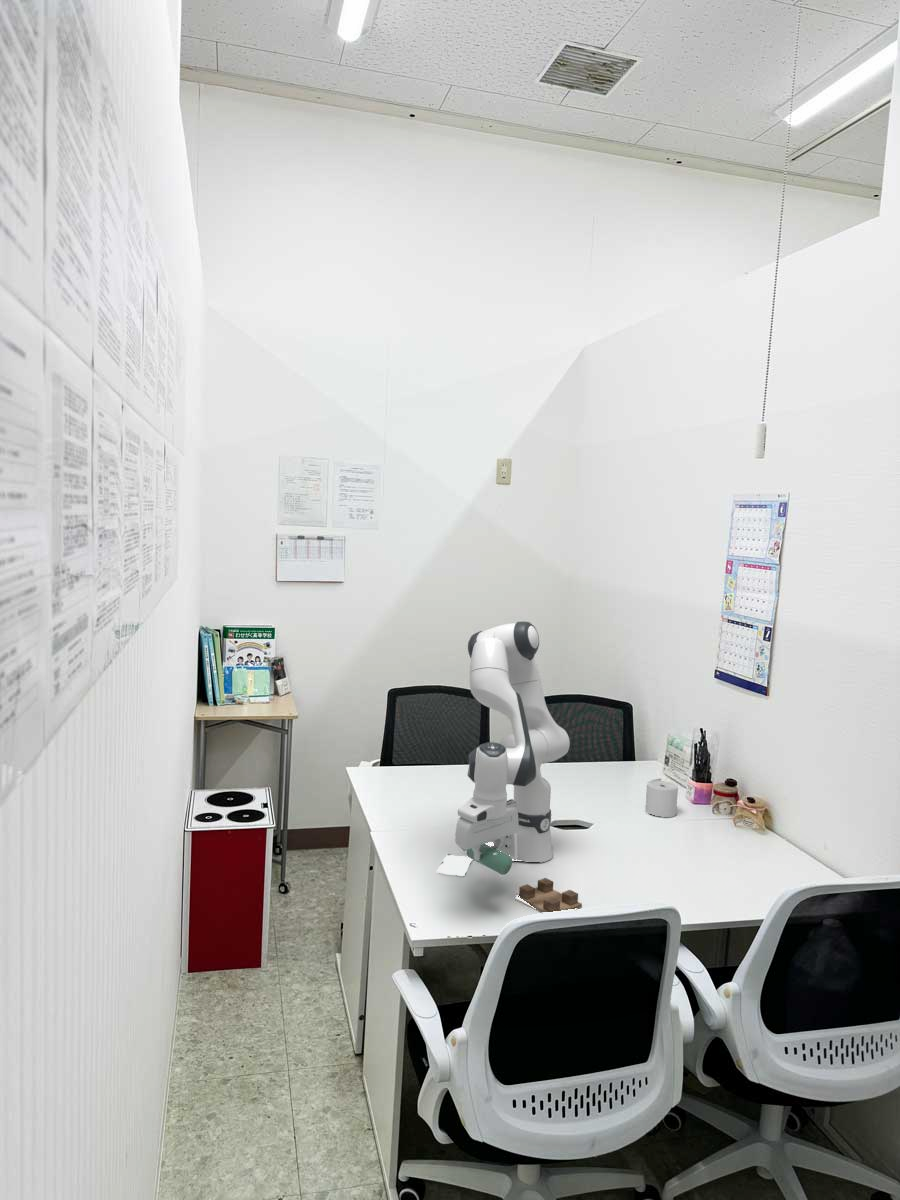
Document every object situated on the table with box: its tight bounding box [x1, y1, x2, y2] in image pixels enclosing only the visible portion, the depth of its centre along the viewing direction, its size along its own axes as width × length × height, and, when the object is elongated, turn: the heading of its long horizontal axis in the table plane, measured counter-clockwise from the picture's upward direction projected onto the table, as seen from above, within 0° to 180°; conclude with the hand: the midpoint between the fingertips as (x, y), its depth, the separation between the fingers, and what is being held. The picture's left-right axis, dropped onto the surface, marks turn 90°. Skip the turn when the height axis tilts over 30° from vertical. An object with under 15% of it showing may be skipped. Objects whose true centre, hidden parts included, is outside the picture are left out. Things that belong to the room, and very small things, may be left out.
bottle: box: [461, 844, 513, 876], centre depth 221 cm, size 15×5×5 cm, turn 42°
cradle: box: [518, 877, 583, 913], centre depth 223 cm, size 14×11×4 cm
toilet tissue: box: [645, 778, 679, 818], centre depth 296 cm, size 11×12×10 cm
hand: (486, 856), depth 221 cm, fingers closed on bottle, 5 cm apart
